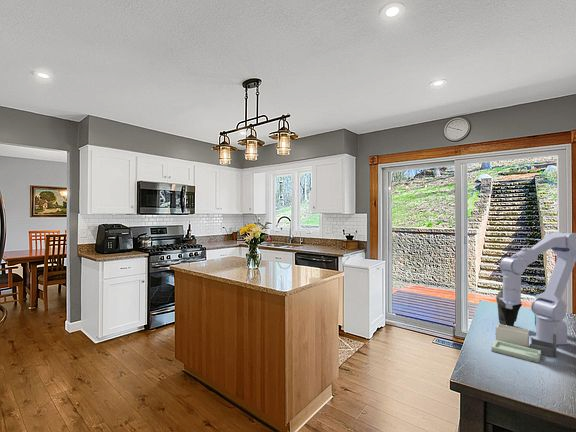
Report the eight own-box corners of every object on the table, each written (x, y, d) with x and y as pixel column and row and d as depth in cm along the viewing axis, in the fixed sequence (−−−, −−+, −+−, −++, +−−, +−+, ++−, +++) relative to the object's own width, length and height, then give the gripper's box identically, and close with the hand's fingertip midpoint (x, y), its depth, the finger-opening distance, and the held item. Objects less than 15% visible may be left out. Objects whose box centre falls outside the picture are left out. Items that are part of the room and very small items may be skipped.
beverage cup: (514, 323, 143) (514, 280, 143) (515, 328, 137) (516, 283, 137) (495, 320, 147) (495, 278, 147) (495, 325, 141) (496, 281, 141)
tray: (540, 354, 111) (541, 350, 111) (539, 363, 104) (539, 358, 104) (495, 343, 120) (495, 340, 120) (491, 350, 114) (491, 346, 114)
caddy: (528, 345, 119) (529, 330, 119) (527, 349, 115) (527, 333, 116) (497, 338, 126) (498, 323, 126) (495, 342, 122) (495, 326, 122)
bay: (556, 350, 115) (556, 328, 115) (555, 357, 109) (556, 334, 109) (531, 344, 120) (531, 323, 120) (529, 350, 114) (529, 329, 114)
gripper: (502, 284, 129) (501, 316, 129) (496, 289, 118) (495, 325, 118) (523, 286, 124) (523, 320, 124) (519, 293, 114) (518, 330, 114)
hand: (511, 323), depth 121 cm, fingers open, 7 cm apart
